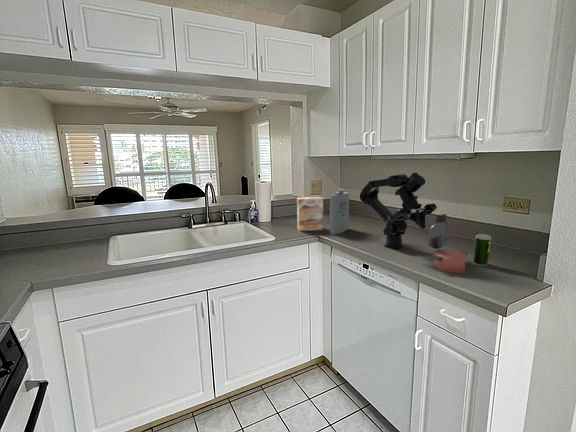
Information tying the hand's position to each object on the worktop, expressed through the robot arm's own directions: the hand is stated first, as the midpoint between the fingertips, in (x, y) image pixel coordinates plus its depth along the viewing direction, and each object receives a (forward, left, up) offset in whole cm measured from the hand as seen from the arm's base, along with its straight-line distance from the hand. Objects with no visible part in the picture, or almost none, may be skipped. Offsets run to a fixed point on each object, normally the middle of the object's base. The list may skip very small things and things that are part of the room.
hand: (423, 228), depth 132 cm
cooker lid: (+8, -1, 0) cm, 8 cm away
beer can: (+18, +12, -13) cm, 26 cm away
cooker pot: (+14, -2, -13) cm, 19 cm away
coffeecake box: (-72, -8, -13) cm, 73 cm away
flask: (-57, +3, -13) cm, 58 cm away
